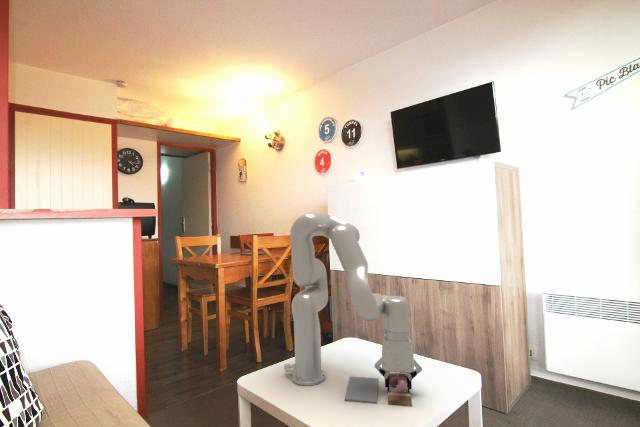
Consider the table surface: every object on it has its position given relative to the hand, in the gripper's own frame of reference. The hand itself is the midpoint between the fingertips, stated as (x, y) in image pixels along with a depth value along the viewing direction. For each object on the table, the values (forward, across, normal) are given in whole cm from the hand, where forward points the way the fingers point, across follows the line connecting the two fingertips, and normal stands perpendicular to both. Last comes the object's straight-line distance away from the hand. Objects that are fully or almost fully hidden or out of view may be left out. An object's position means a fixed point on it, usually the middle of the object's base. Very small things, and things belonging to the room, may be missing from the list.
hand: (398, 389), depth 112 cm
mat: (+1, -12, 0) cm, 12 cm away
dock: (+1, 0, 0) cm, 1 cm away
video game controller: (+1, 0, 0) cm, 1 cm away
